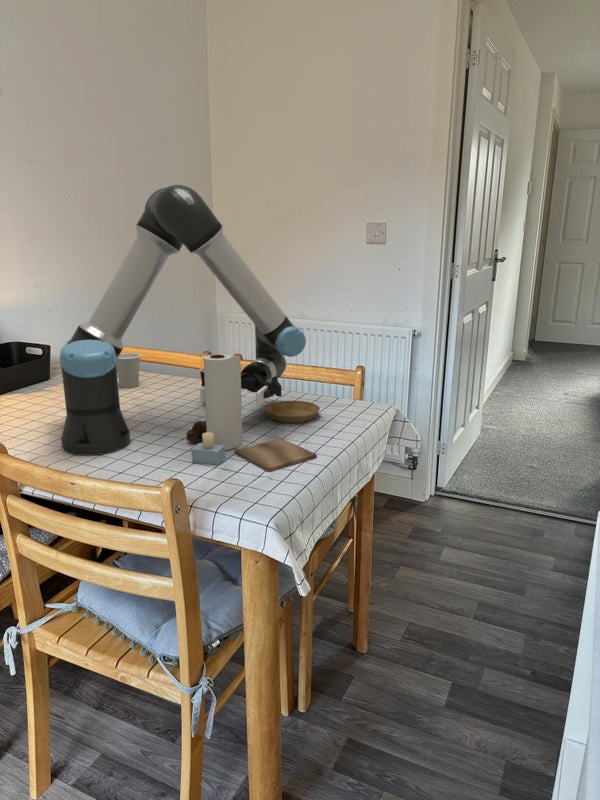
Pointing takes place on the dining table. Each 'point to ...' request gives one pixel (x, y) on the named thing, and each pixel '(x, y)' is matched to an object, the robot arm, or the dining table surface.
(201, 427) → the dark brown knobby rod
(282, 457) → the board
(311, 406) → the plant saucer
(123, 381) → the dixie cup
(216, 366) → the paper towel roll
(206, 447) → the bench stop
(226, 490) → the dining table surface
